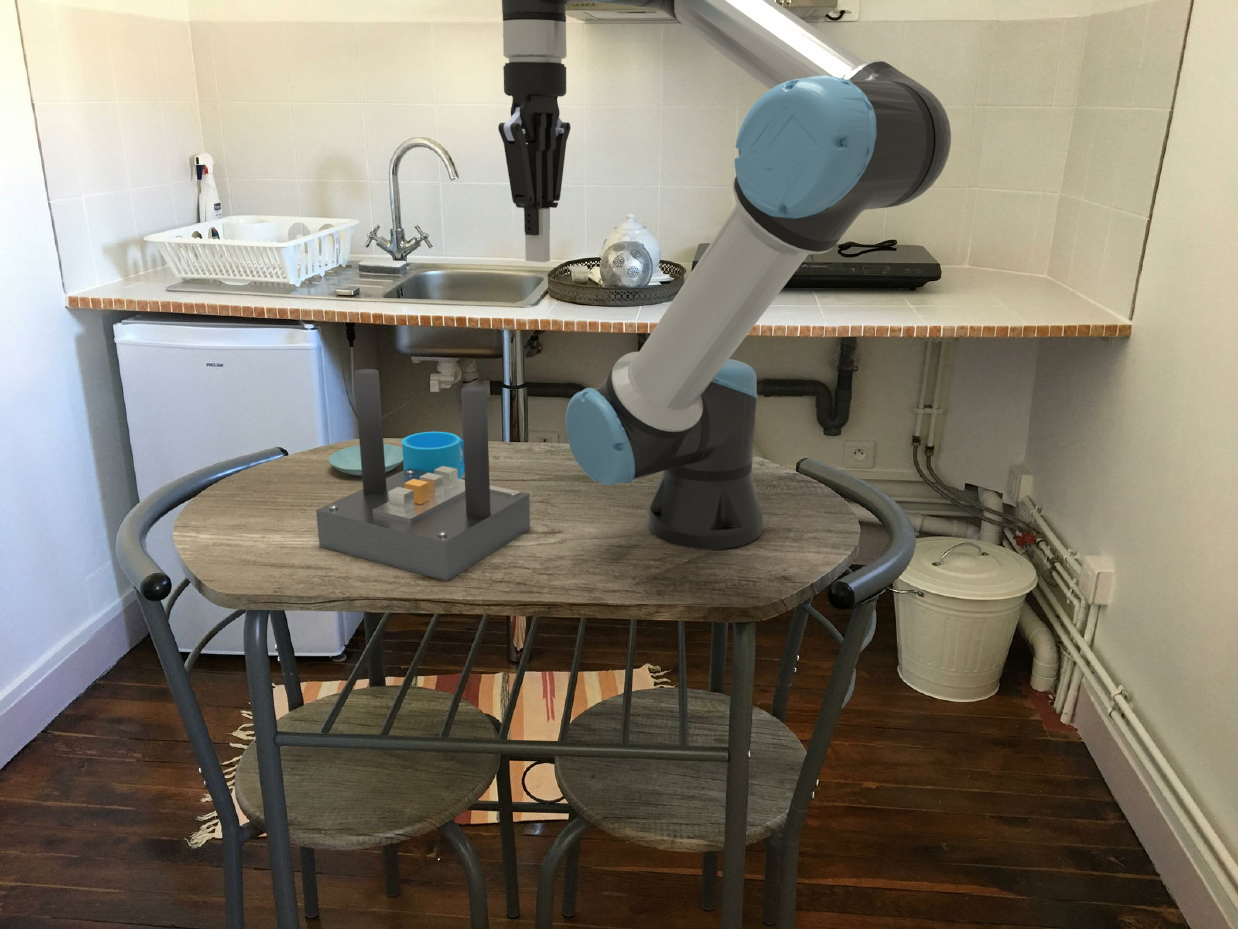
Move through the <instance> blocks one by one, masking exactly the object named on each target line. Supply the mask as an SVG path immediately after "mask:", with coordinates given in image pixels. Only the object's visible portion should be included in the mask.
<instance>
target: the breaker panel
mask: <svg viewBox="0 0 1238 929" xmlns="http://www.w3.org/2000/svg"><path fill="white" fill-rule="evenodd" d="M412 479H417V480H421V481H426V482H429V499H430V500H428V501H426V502H424V503H422V504H417V503H414V492H413V490H410V489H406V488H405V486H404V483H406V482H408V481H410V480H412ZM386 487H387V490H386V491H385V492H383V493H380V494H366V493H364V492H363V488H362V489H360V490H357V491H356V492H353V493H351V494H349V495H345V497H342V498H340V499H338V500H335V501H333V502H331V503H328V504H327V505H323V506H322V507H320V508H318V509H316V510H315V514H316V523H317V534H318V535H317V536H318V545H319V548H323V549H327V550H330V551H335V552H337V553H342V554H345V555H349V556H353V557H356V558H360V559H363V560H368V561H371V562H374V563H379V564H382V565H386V566H389V567H392V568H393V567H394V568H397V569H400V570H404V571H409V572H412V573H416V574H419V575H423V576H427V577H431V578H434V579H438V580H442V581H445V582H448V581H450V580H451V579H452V578H454V577H456V576H457V575H459V574H461V573H462V572H463V571H465V570H467V569H468V568H470V567H472V566H473V565H475V564H477V563H478V562H480V561H482V560H483V559H484V558H486V557H488V556H489V555H491V554H493V553H495V552H496V551H498V550H499V549H500V548H502V547H503V546H506V545H507V544H508V543H510V542H511V541H513V540H515V539H517V538H518V537H520V536H521V535H523V534H524V533H526V532H528V531H529V530H530V529H531V515H530V514H531V508H530V507H531V506H530V501H531V500H530V493H529V492H528V493H527V492H524V491H523V492H522V491H518V490H514V489H509V488H505V487H501V486H495V485H491V484H490V510H491V514H490V515H489V516H488V517H485V518H480V519H475V518H470V517H468V516H467V515H466V496H465V479H464V478H462V479H458V471H457V469H455V468H450V467H445V466H441V467H439V468H437V469H435V470H434V473H429V472H425V471H420V470H415V469H411V468H408V469H406V470H404V469H403V470H401V471H399V472H397V473H395V474H393V475H391V476H388V477H386Z"/></svg>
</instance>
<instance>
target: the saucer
mask: <svg viewBox="0 0 1238 929" xmlns="http://www.w3.org/2000/svg"><path fill="white" fill-rule="evenodd" d="M384 458H385V472H386V473H388V472H390V471H393V470H394V469H396V468H397V467H398V466H400V465H401V464H403V449H402V446H401V447H400V446H397V445H394V444H393V445H392V444H387V443H384ZM327 461H328V463H329V464H330V465H331V466H332V467H334V468H335V469H336V470H338V471H340V472H341V473H343V474H347V475H350V476H354V477H362V468H361V455H360V444H359V445H353V446H348V447H344V448H343V449H339V450H338V451H334V452H333V453H332V454H331V455H330V456H329V457H328V460H327Z"/></svg>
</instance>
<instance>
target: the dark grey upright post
mask: <svg viewBox="0 0 1238 929" xmlns="http://www.w3.org/2000/svg"><path fill="white" fill-rule="evenodd" d="M353 373H354V374H353V376H354V386H355V387H354V389H355V402H356V414H357V426H358V428H357V429H358V440H359V445H360V455H361V468H362V476H361V479H362V489H363V492H364V493H366V494H380V493H383V492H385V491H386V490H387V487H386V478H387V475H386V472H385V458H384V444H385V443H384V432H383V431H384V430H383V429H384V428H383V418H382V416H383V414H382V403H381V402H382V401H381V400H382V399H381V389H380V388H381V386H380V374H379V370H378V369H374V368H365V369H363V368H362V369H357V370H355V371H354V372H353Z"/></svg>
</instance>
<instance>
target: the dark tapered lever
mask: <svg viewBox="0 0 1238 929" xmlns="http://www.w3.org/2000/svg"><path fill="white" fill-rule="evenodd" d="M487 394H488V393H487V388H486V387H484V386H479V385H478V386H476V385H475V386H474V385H473V386H472V385H471V386H470V385H469V386H465V387H463V388H461V389H460V397H461V400H460V401H461V419H462V420H461V421H462V422H461V423H462V440H463V449H464V480H465V496H466V515H467V516H468V517H470V518H475V519H480V518H485V517H488V516H489V515H490V514H491V510H490V485H491V484H490V456H489V453H490V452H489V430H488V429H489V428H488V398H487V397H488V396H487Z"/></svg>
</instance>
